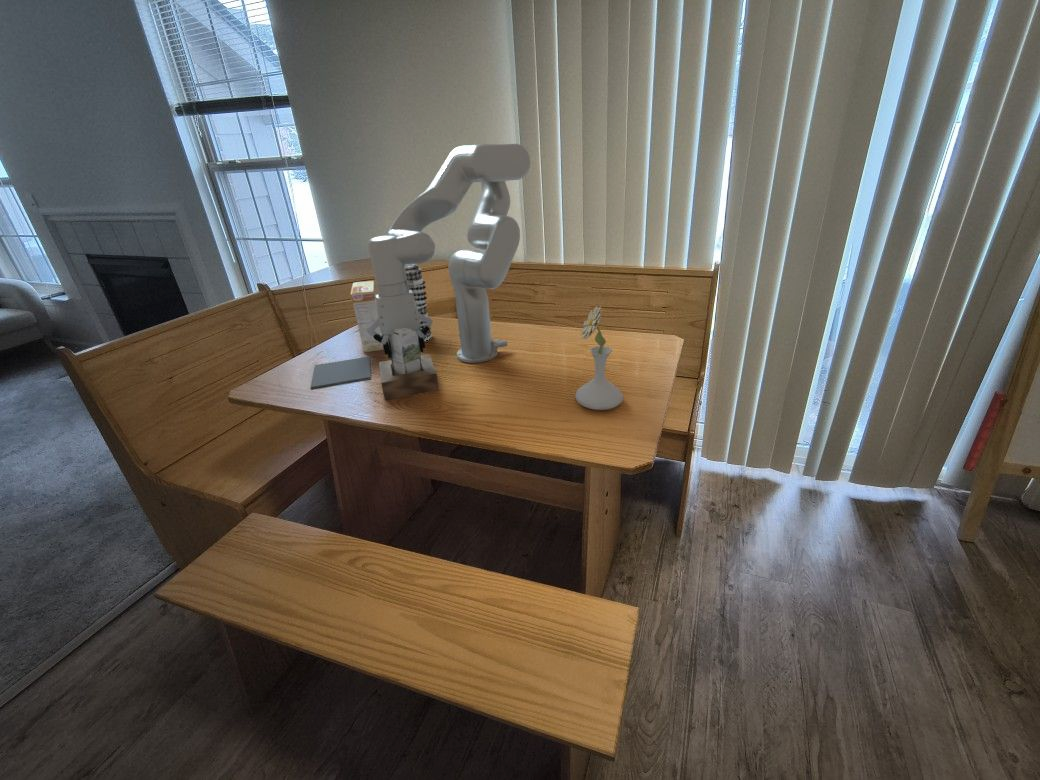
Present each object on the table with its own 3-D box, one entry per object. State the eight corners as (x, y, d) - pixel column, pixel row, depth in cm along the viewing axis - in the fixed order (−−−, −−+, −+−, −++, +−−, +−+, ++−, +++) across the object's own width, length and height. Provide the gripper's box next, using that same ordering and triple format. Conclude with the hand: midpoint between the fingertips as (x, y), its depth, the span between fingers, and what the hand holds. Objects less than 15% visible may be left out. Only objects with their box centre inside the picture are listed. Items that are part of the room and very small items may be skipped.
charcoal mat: (369, 358, 141) (369, 356, 141) (371, 378, 128) (370, 376, 127) (315, 366, 137) (314, 365, 137) (310, 389, 123) (310, 387, 123)
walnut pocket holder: (431, 369, 131) (429, 354, 129) (439, 390, 119) (436, 373, 117) (382, 378, 127) (378, 362, 125) (384, 400, 116) (381, 382, 113)
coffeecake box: (364, 337, 158) (352, 282, 149) (385, 334, 160) (374, 280, 151) (362, 352, 146) (349, 293, 137) (385, 349, 147) (373, 290, 138)
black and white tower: (434, 341, 152) (423, 266, 140) (406, 344, 150) (392, 269, 139) (432, 332, 160) (422, 260, 148) (405, 335, 158) (393, 263, 146)
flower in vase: (581, 389, 116) (583, 293, 104) (626, 395, 112) (633, 296, 101) (567, 414, 105) (568, 310, 94) (616, 421, 101) (623, 314, 90)
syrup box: (410, 369, 126) (403, 320, 119) (424, 375, 123) (417, 324, 116) (393, 376, 122) (384, 326, 116) (407, 382, 119) (398, 330, 112)
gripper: (426, 280, 117) (436, 343, 125) (356, 289, 112) (371, 354, 121) (430, 287, 110) (440, 353, 119) (356, 297, 106) (372, 365, 114)
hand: (405, 353), depth 119 cm, fingers closed on syrup box, 8 cm apart
